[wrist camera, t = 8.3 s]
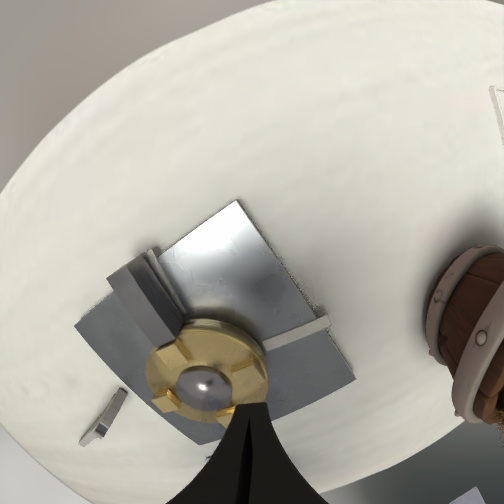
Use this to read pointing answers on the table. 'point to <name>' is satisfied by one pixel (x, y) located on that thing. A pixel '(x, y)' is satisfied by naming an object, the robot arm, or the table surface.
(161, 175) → the table surface
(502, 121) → the phone case
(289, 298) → the dark grey square plate
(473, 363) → the flowerpot
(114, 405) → the caliper
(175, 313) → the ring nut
